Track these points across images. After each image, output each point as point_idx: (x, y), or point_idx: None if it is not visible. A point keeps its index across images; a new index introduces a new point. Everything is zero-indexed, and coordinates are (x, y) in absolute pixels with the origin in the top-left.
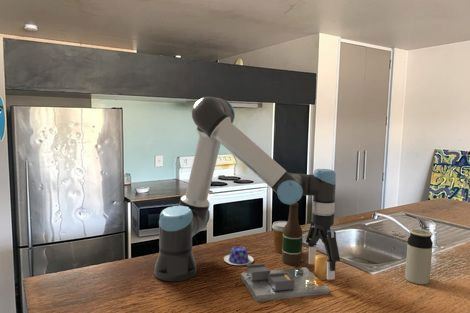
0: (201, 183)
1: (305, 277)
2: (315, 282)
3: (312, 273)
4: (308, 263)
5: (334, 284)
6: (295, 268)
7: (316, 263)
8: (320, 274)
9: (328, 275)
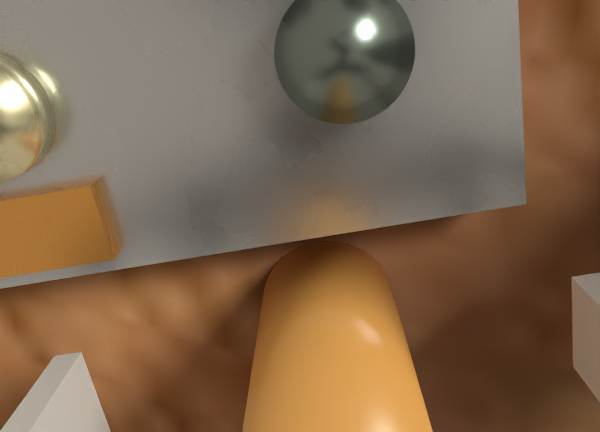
0: None
1: (174, 103)
2: (17, 194)
3: (308, 237)
4: (597, 273)
5: (170, 392)
6: (505, 32)
7: (293, 364)
8: (259, 324)
9: (34, 399)
